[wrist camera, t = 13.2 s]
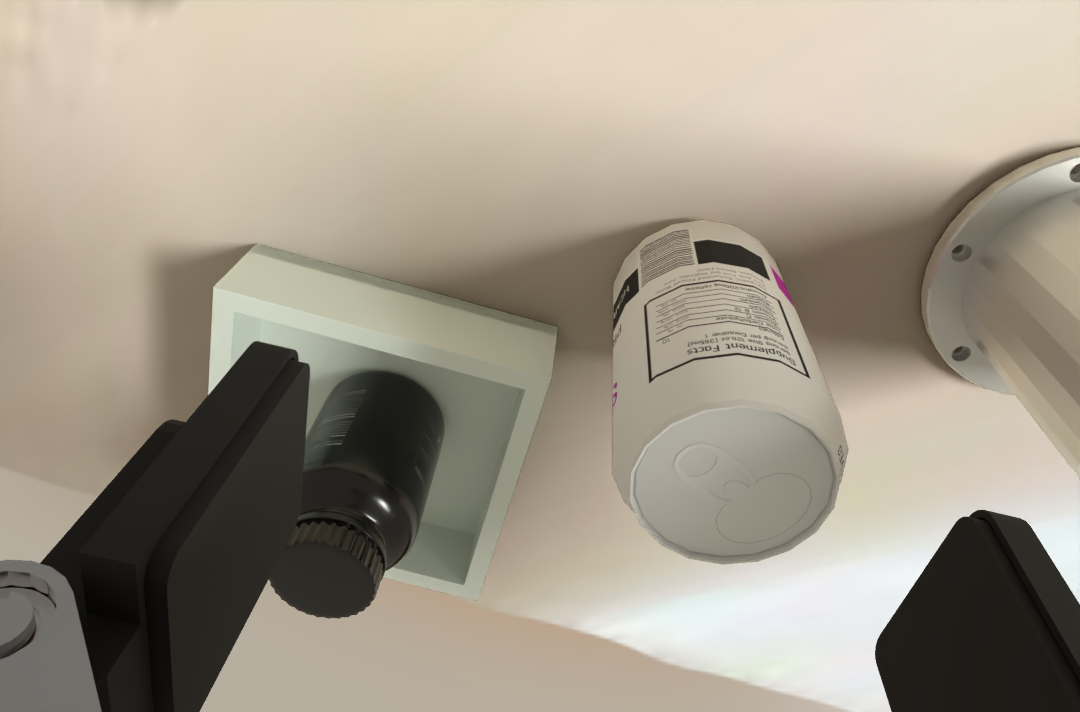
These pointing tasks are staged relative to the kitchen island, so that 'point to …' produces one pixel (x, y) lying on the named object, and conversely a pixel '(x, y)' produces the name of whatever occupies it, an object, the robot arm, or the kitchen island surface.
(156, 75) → the kitchen island surface
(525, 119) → the kitchen island surface
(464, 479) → the bin
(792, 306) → the supplement can
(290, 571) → the supplement bottle
